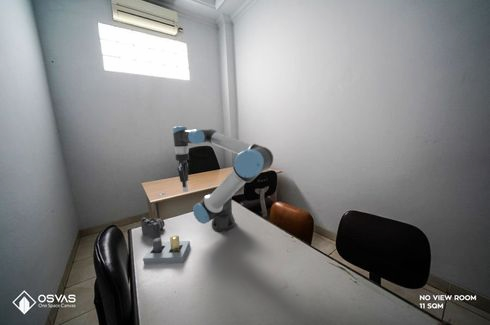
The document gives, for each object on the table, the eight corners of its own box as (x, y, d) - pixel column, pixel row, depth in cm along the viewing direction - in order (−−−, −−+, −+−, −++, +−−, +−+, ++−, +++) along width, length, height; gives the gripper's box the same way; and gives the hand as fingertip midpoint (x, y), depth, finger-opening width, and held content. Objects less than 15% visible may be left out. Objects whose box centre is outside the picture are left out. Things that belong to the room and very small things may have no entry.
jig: (190, 245, 93) (188, 232, 91) (182, 262, 81) (181, 247, 80) (156, 247, 93) (154, 233, 91) (143, 264, 81) (141, 248, 79)
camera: (171, 230, 108) (169, 216, 106) (155, 240, 98) (153, 224, 96) (156, 225, 114) (154, 211, 112) (140, 234, 105) (137, 219, 103)
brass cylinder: (181, 249, 89) (179, 235, 87) (178, 254, 85) (177, 240, 83) (173, 249, 89) (171, 235, 87) (170, 255, 85) (168, 240, 83)
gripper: (179, 152, 108) (182, 188, 112) (171, 155, 95) (175, 195, 100) (191, 151, 108) (194, 187, 112) (184, 154, 95) (188, 195, 100)
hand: (185, 191), depth 106 cm, fingers closed
